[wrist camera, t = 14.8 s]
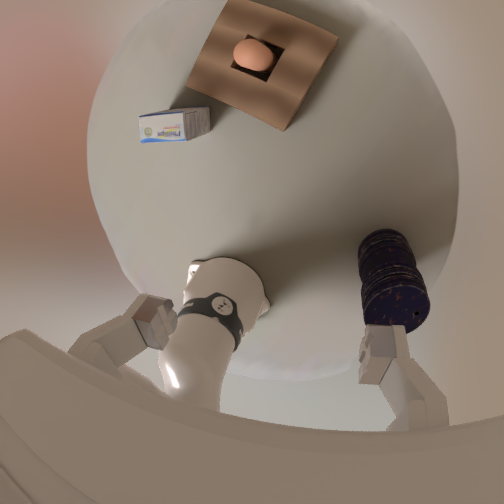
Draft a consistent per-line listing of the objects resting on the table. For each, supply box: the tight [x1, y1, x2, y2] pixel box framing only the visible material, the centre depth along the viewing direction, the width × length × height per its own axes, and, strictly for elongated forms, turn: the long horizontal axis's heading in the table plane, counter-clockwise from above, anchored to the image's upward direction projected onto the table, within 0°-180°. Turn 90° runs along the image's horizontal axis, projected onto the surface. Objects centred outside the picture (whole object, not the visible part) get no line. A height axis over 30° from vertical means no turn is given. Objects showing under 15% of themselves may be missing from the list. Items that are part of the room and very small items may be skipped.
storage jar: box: [358, 229, 430, 334], centre depth 38 cm, size 10×10×15 cm
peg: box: [233, 39, 278, 73], centre depth 29 cm, size 4×4×8 cm
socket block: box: [186, 0, 339, 132], centre depth 31 cm, size 16×16×4 cm
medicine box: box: [139, 107, 210, 143], centre depth 37 cm, size 8×4×9 cm, turn 90°
